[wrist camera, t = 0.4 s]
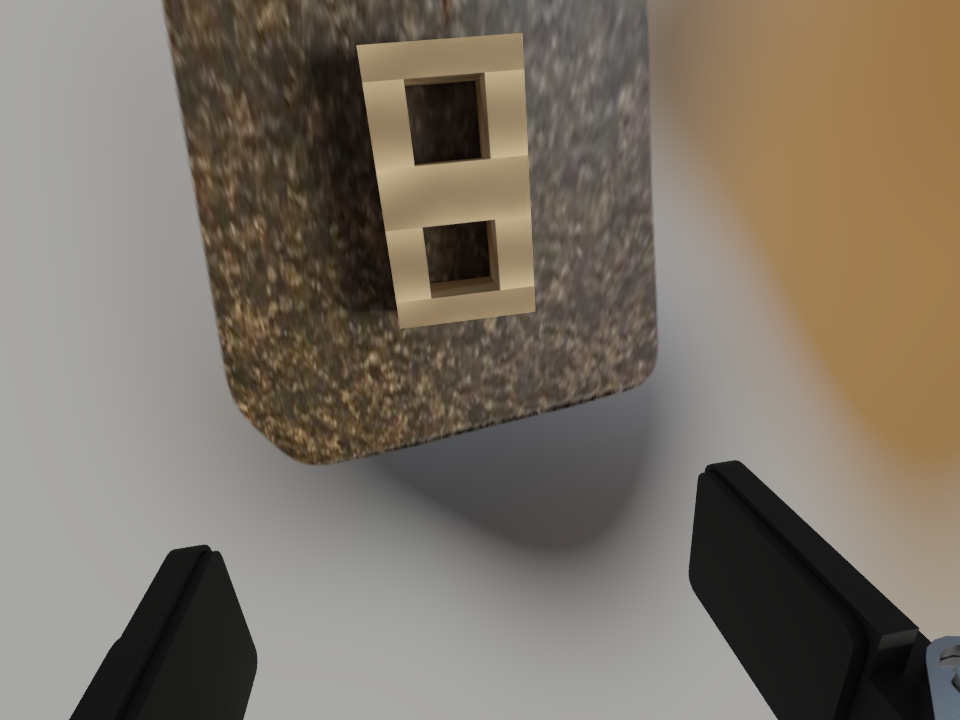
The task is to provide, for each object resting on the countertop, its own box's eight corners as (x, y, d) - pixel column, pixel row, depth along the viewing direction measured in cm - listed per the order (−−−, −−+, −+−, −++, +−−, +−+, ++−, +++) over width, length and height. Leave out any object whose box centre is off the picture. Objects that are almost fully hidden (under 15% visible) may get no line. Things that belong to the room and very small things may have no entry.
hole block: (361, 57, 31) (356, 45, 28) (508, 45, 32) (522, 32, 28) (400, 310, 37) (400, 328, 34) (522, 295, 38) (535, 311, 35)
